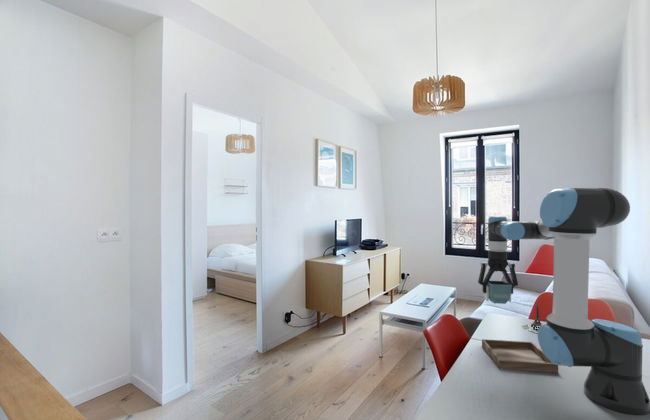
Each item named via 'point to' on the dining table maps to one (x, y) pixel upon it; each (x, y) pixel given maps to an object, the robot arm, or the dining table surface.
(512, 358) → the box
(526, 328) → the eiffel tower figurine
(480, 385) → the dining table surface
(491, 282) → the flower pot
